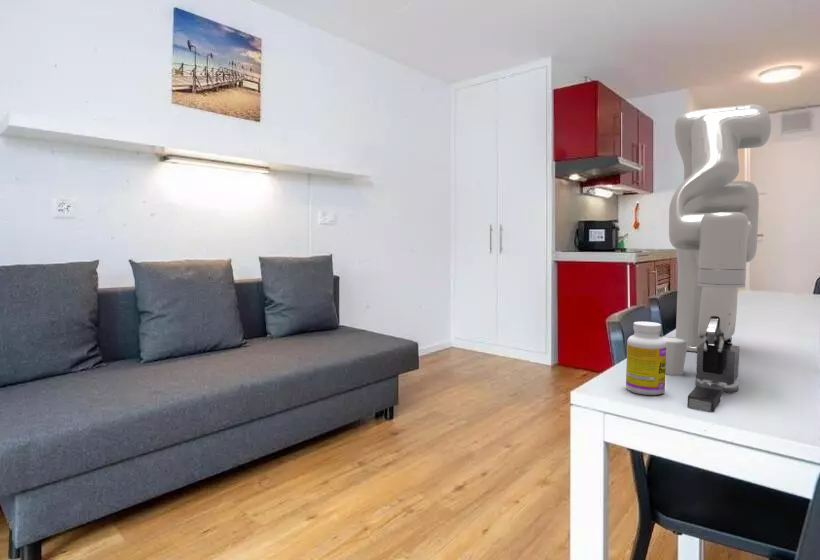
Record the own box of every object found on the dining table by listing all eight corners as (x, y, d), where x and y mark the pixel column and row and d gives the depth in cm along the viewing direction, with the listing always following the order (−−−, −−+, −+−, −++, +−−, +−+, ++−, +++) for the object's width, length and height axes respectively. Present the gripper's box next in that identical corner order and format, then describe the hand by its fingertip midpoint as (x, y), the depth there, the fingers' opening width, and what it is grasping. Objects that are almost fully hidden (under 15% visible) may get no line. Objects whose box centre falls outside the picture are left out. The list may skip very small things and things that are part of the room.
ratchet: (699, 380, 98) (700, 351, 97) (741, 387, 93) (742, 356, 93) (676, 405, 83) (677, 371, 83) (724, 415, 79) (725, 379, 78)
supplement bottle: (663, 398, 87) (665, 327, 86) (623, 392, 90) (625, 324, 89) (666, 388, 93) (668, 322, 91) (628, 383, 96) (630, 319, 95)
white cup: (691, 376, 101) (692, 343, 100) (655, 374, 102) (656, 342, 101) (680, 367, 107) (681, 336, 107) (646, 366, 109) (647, 335, 108)
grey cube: (702, 371, 97) (703, 342, 97) (738, 376, 93) (739, 346, 93) (696, 378, 93) (697, 347, 92) (733, 384, 89) (735, 351, 88)
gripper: (707, 274, 100) (703, 356, 102) (688, 280, 87) (685, 373, 89) (751, 276, 95) (746, 361, 97) (738, 282, 82) (733, 381, 84)
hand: (717, 367), depth 93 cm, fingers open, 9 cm apart
